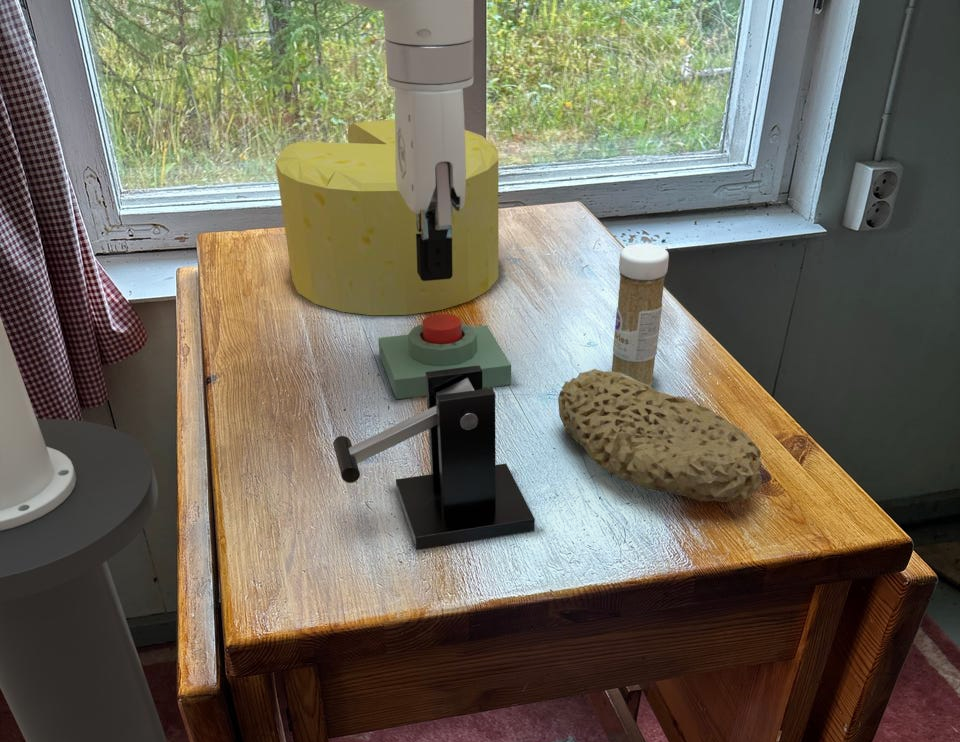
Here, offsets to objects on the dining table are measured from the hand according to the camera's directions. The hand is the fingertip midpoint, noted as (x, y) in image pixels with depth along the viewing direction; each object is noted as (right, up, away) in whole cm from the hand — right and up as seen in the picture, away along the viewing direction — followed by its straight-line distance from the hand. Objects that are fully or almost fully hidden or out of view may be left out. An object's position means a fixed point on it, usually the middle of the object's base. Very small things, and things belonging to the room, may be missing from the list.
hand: (434, 276), depth 95 cm
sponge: (+20, -21, -8) cm, 30 cm away
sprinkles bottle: (+20, -10, +4) cm, 23 cm away
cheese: (-6, +10, +27) cm, 30 cm away
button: (+1, -5, +5) cm, 7 cm away
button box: (+1, -7, +7) cm, 10 cm away
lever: (-1, -20, -18) cm, 27 cm away
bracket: (+3, -25, -13) cm, 28 cm away
